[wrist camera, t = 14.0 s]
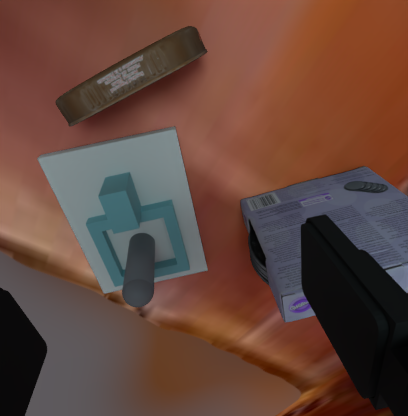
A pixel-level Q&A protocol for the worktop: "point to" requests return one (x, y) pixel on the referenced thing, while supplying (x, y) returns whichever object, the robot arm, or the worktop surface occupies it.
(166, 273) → the link
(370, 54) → the worktop surface
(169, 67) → the tin
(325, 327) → the robot arm
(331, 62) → the worktop surface
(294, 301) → the cake pan box
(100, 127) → the worktop surface
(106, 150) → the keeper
